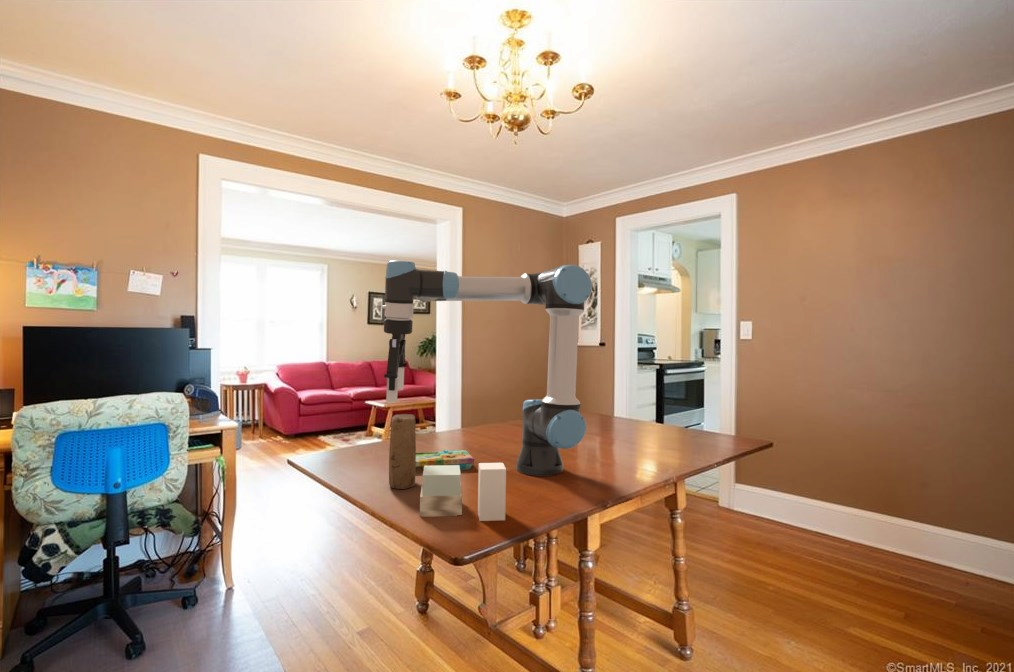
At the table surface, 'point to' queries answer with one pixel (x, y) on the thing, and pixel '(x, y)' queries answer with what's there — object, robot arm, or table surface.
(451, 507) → the tower base
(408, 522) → the table surface
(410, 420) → the block
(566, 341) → the robot arm
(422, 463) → the puzzle game
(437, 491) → the tower top
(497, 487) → the cream block
